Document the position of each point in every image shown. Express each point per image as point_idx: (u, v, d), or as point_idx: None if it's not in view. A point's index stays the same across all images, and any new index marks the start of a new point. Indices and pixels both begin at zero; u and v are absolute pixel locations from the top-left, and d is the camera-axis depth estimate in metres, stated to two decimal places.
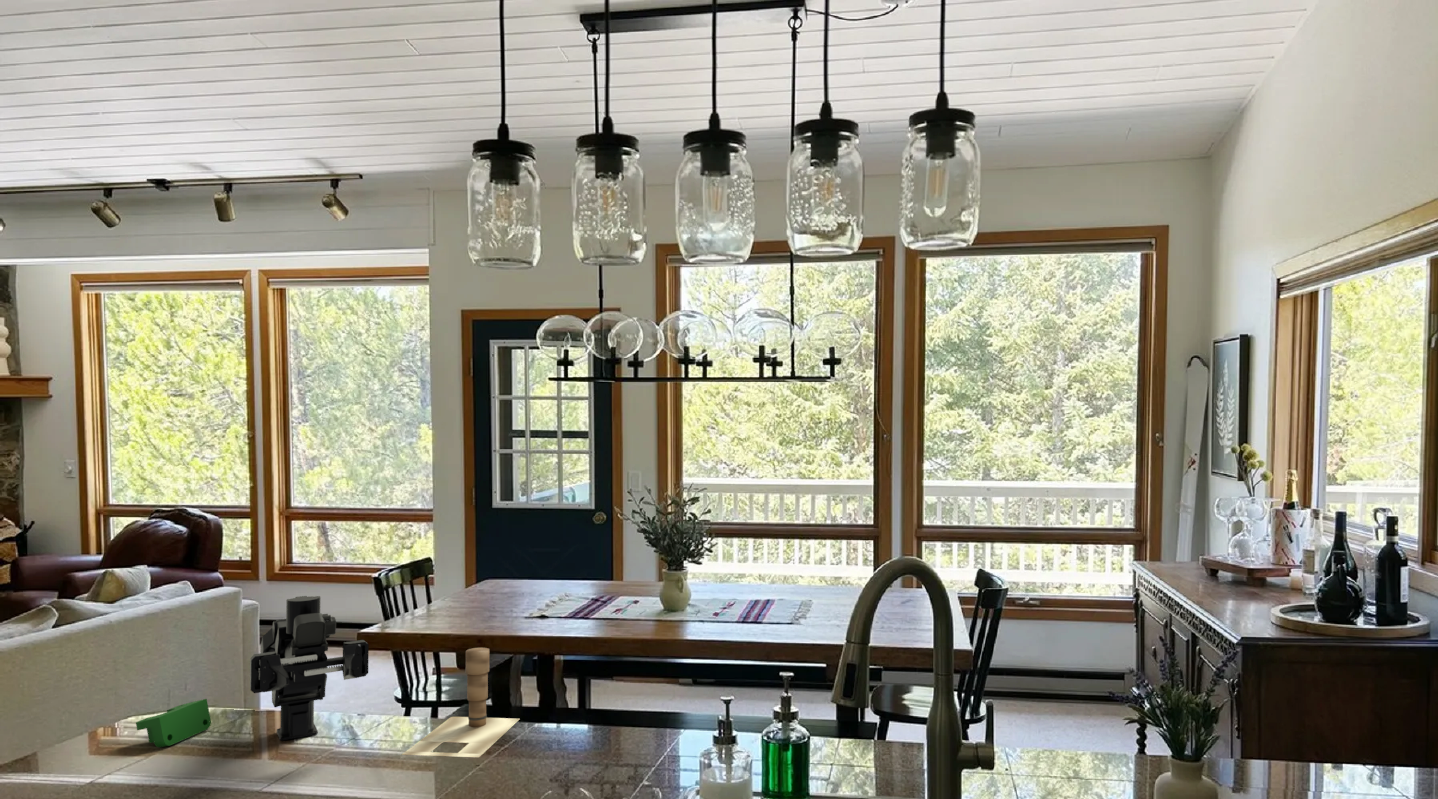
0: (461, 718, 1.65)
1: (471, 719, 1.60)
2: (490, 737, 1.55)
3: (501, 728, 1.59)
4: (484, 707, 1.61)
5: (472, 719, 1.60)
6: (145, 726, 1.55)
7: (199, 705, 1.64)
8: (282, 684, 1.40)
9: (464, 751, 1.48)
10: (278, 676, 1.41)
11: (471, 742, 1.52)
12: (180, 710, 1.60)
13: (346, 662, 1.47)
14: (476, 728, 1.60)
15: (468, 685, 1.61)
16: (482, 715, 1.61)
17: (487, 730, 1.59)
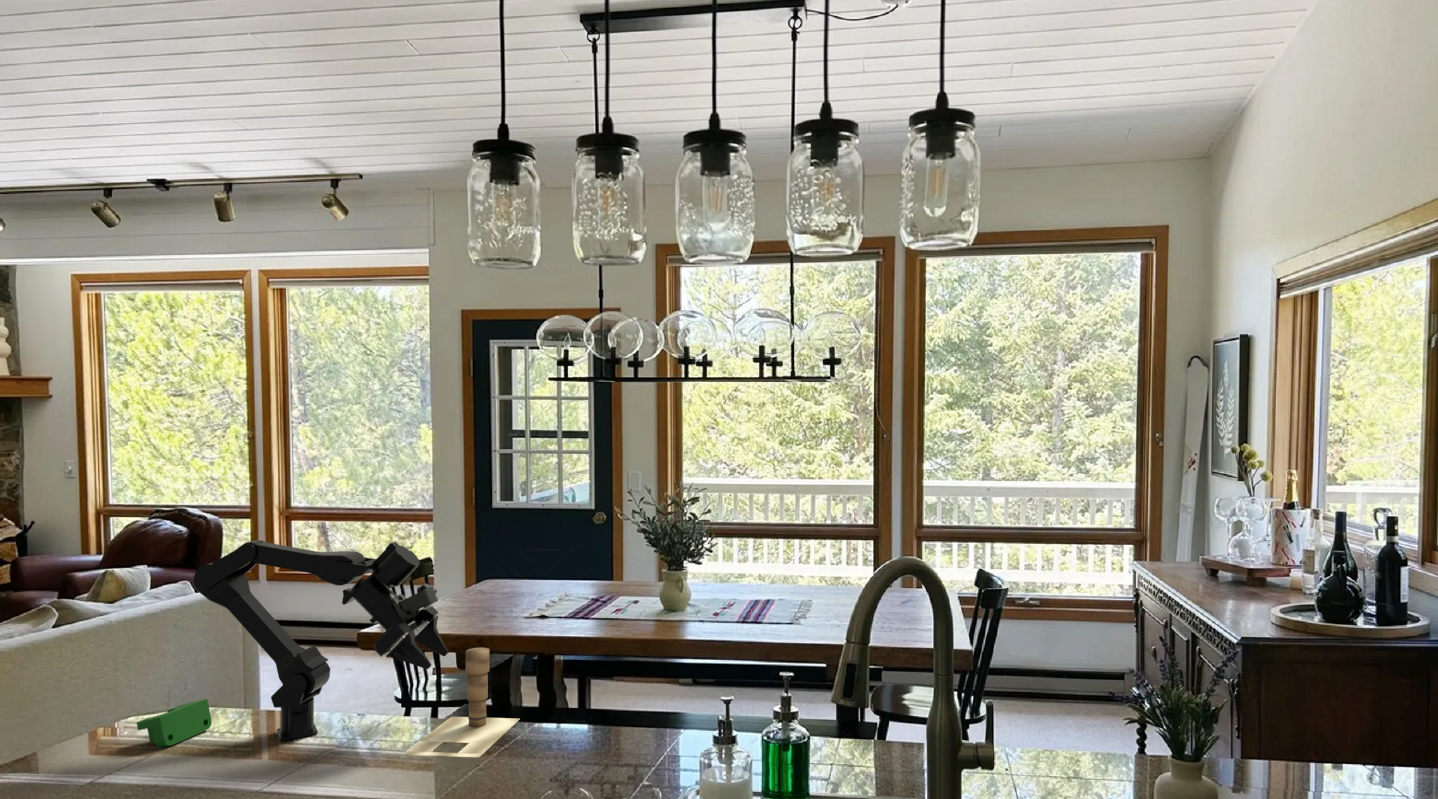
0: (461, 718, 1.65)
1: (471, 719, 1.60)
2: (490, 737, 1.55)
3: (501, 728, 1.59)
4: (484, 707, 1.61)
5: (472, 719, 1.60)
6: (146, 726, 1.55)
7: (199, 705, 1.64)
8: (420, 665, 1.57)
9: (464, 751, 1.48)
10: (417, 656, 1.57)
11: (471, 742, 1.52)
12: (181, 710, 1.60)
13: (441, 641, 1.67)
14: (476, 728, 1.60)
15: (468, 685, 1.61)
16: (482, 715, 1.61)
17: (487, 730, 1.59)
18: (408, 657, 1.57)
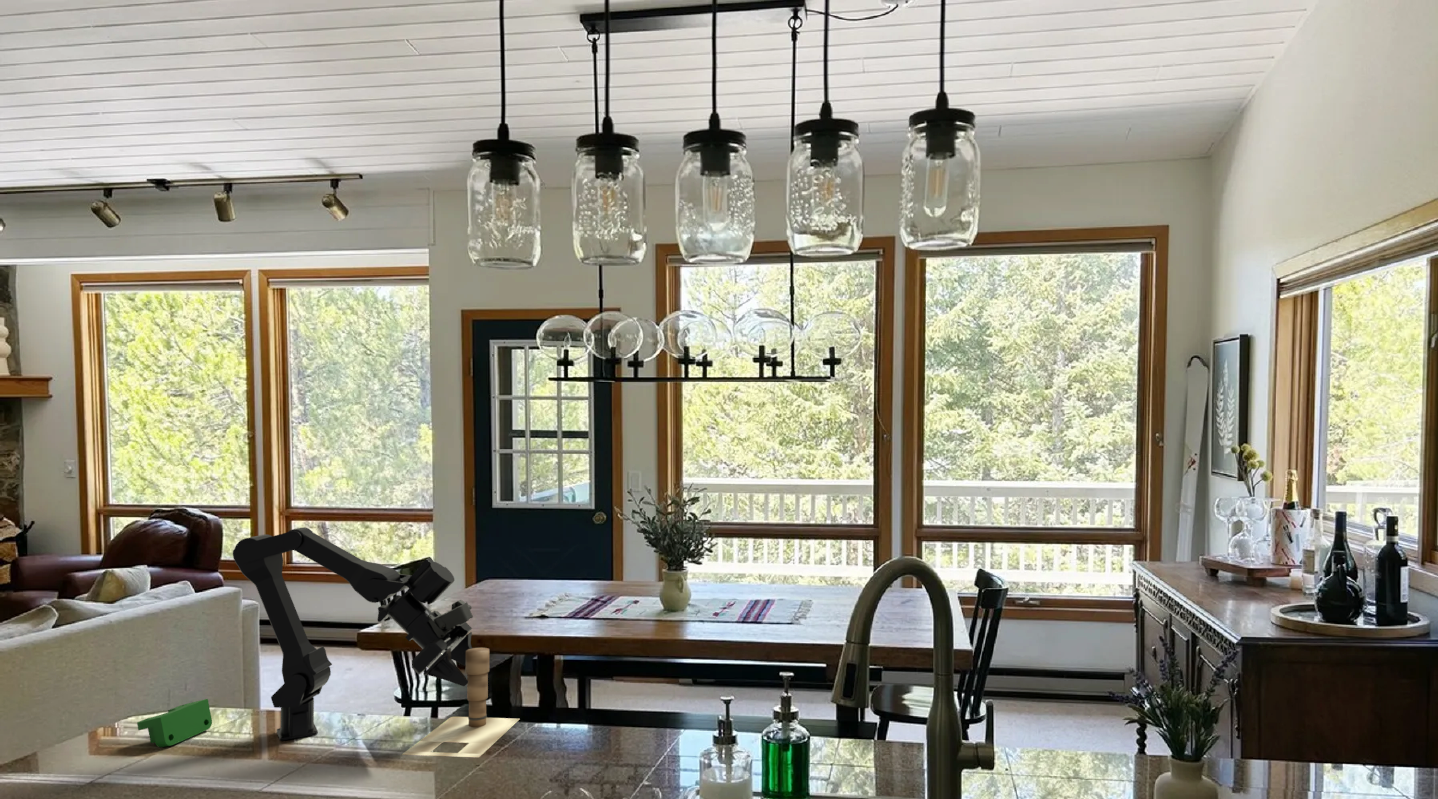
0: (461, 718, 1.65)
1: (471, 719, 1.60)
2: (490, 737, 1.55)
3: (501, 728, 1.59)
4: (484, 707, 1.61)
5: (472, 719, 1.60)
6: (146, 726, 1.55)
7: (200, 705, 1.64)
8: (457, 683, 1.57)
9: (464, 751, 1.48)
10: (454, 673, 1.57)
11: (471, 742, 1.52)
12: (181, 710, 1.60)
13: None
14: (476, 728, 1.60)
15: (468, 685, 1.61)
16: (482, 715, 1.61)
17: (487, 730, 1.59)
18: (445, 674, 1.56)
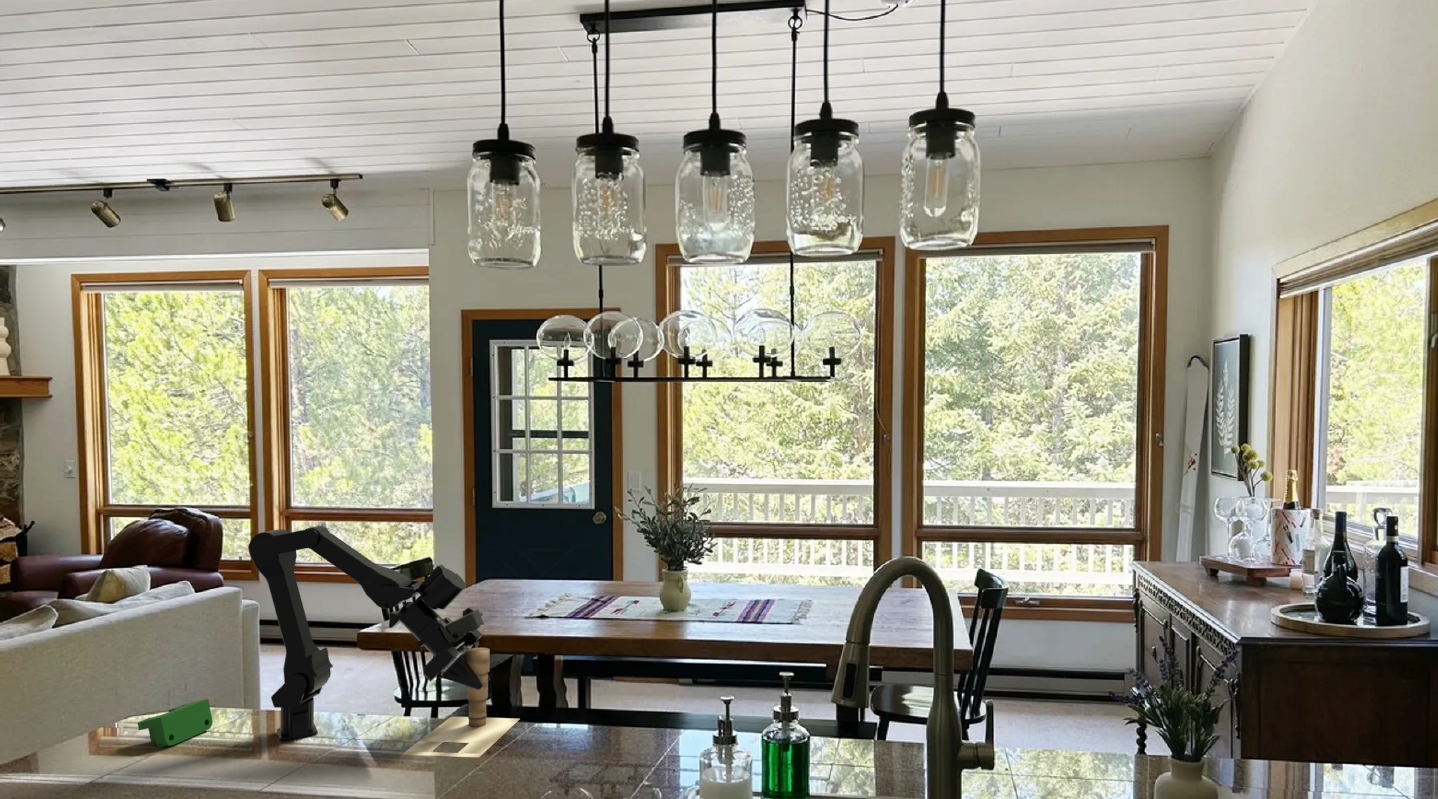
0: (461, 718, 1.65)
1: (471, 719, 1.60)
2: (490, 737, 1.55)
3: (501, 728, 1.59)
4: (484, 707, 1.61)
5: (472, 719, 1.60)
6: (147, 726, 1.55)
7: (200, 705, 1.64)
8: (472, 686, 1.59)
9: (464, 751, 1.48)
10: (469, 677, 1.59)
11: (471, 742, 1.52)
12: (182, 710, 1.59)
13: None
14: (476, 728, 1.60)
15: None
16: (482, 715, 1.61)
17: (487, 730, 1.59)
18: (460, 678, 1.59)
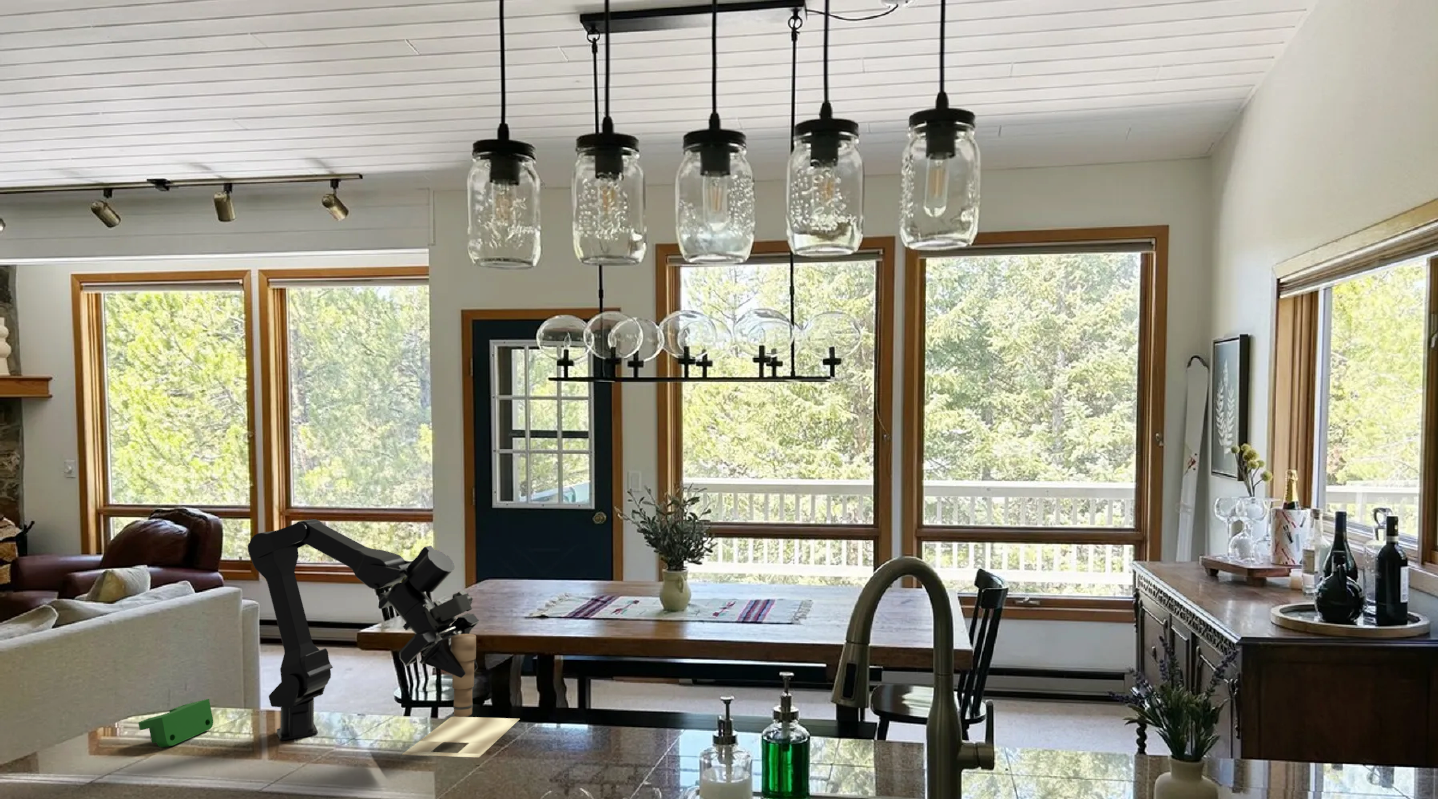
0: (461, 718, 1.65)
1: (455, 708, 1.53)
2: (490, 737, 1.55)
3: (501, 728, 1.59)
4: (468, 697, 1.54)
5: (456, 708, 1.53)
6: (148, 726, 1.55)
7: (201, 705, 1.64)
8: (454, 673, 1.52)
9: (464, 751, 1.48)
10: (451, 664, 1.52)
11: (471, 742, 1.52)
12: (182, 710, 1.59)
13: None
14: (476, 728, 1.60)
15: None
16: (466, 705, 1.53)
17: (487, 730, 1.59)
18: (442, 664, 1.52)
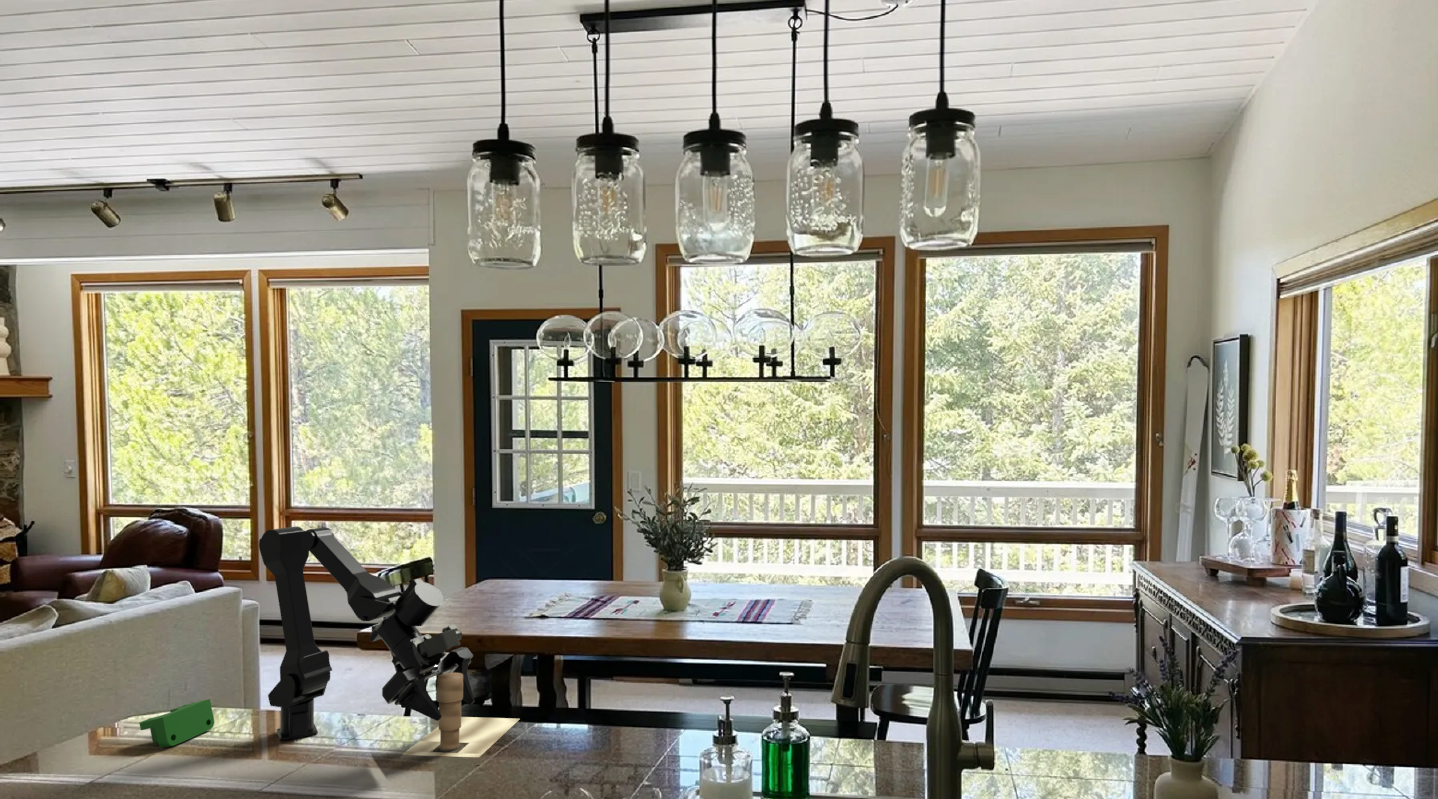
0: (461, 718, 1.65)
1: (441, 750, 1.49)
2: (490, 737, 1.55)
3: (501, 728, 1.59)
4: (454, 739, 1.49)
5: (442, 750, 1.49)
6: (149, 726, 1.55)
7: (202, 705, 1.64)
8: (430, 716, 1.45)
9: (464, 751, 1.48)
10: (426, 706, 1.45)
11: (471, 742, 1.52)
12: (183, 710, 1.59)
13: (468, 687, 1.55)
14: (476, 728, 1.60)
15: None
16: (452, 747, 1.49)
17: (487, 730, 1.59)
18: (418, 706, 1.45)
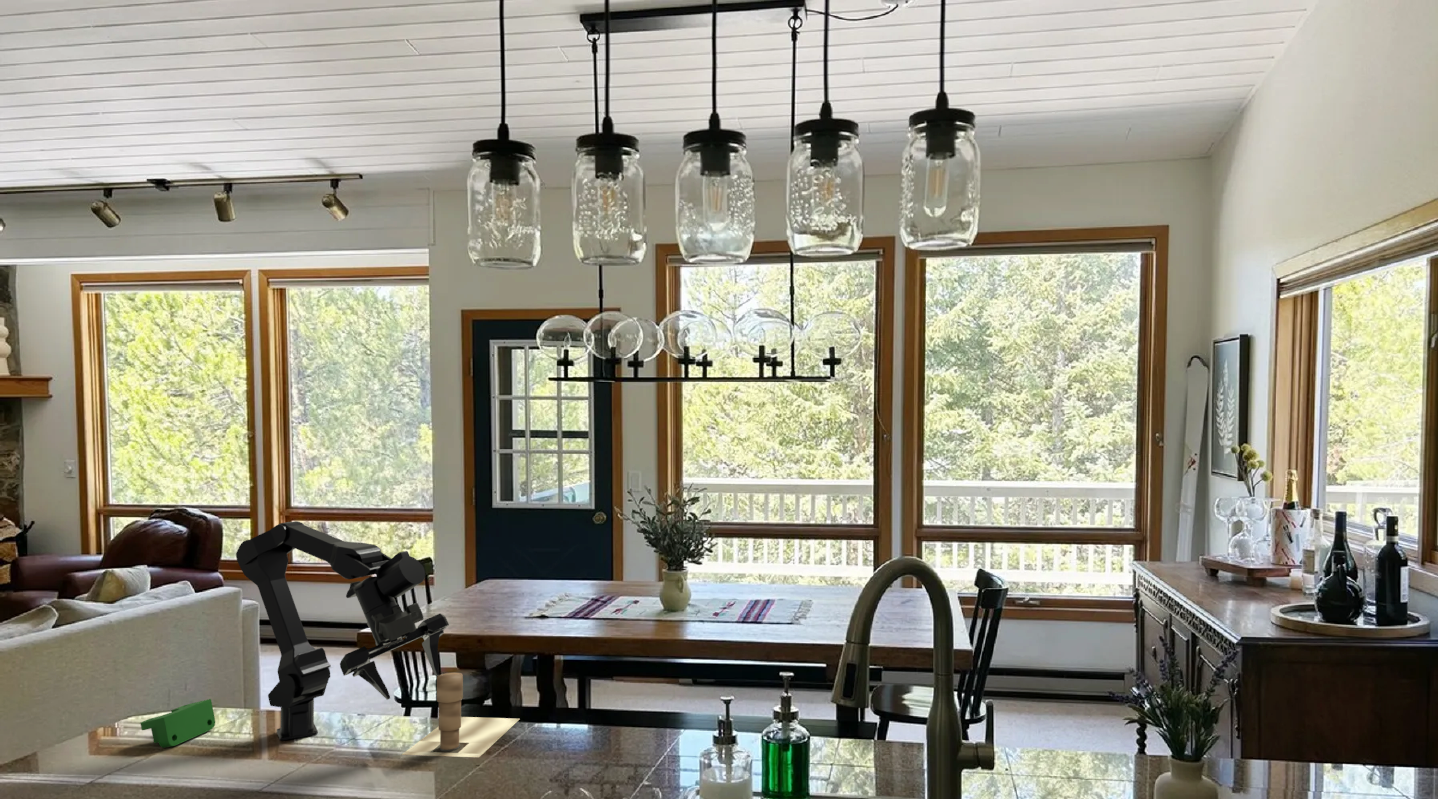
0: (461, 718, 1.65)
1: (441, 750, 1.49)
2: (490, 737, 1.55)
3: (501, 728, 1.59)
4: (454, 739, 1.49)
5: (442, 750, 1.49)
6: (150, 726, 1.55)
7: (203, 705, 1.64)
8: None
9: (464, 751, 1.48)
10: (376, 686, 1.50)
11: (471, 742, 1.52)
12: (184, 710, 1.59)
13: (434, 660, 1.56)
14: (476, 728, 1.60)
15: None
16: (452, 747, 1.49)
17: (487, 730, 1.59)
18: (372, 682, 1.51)
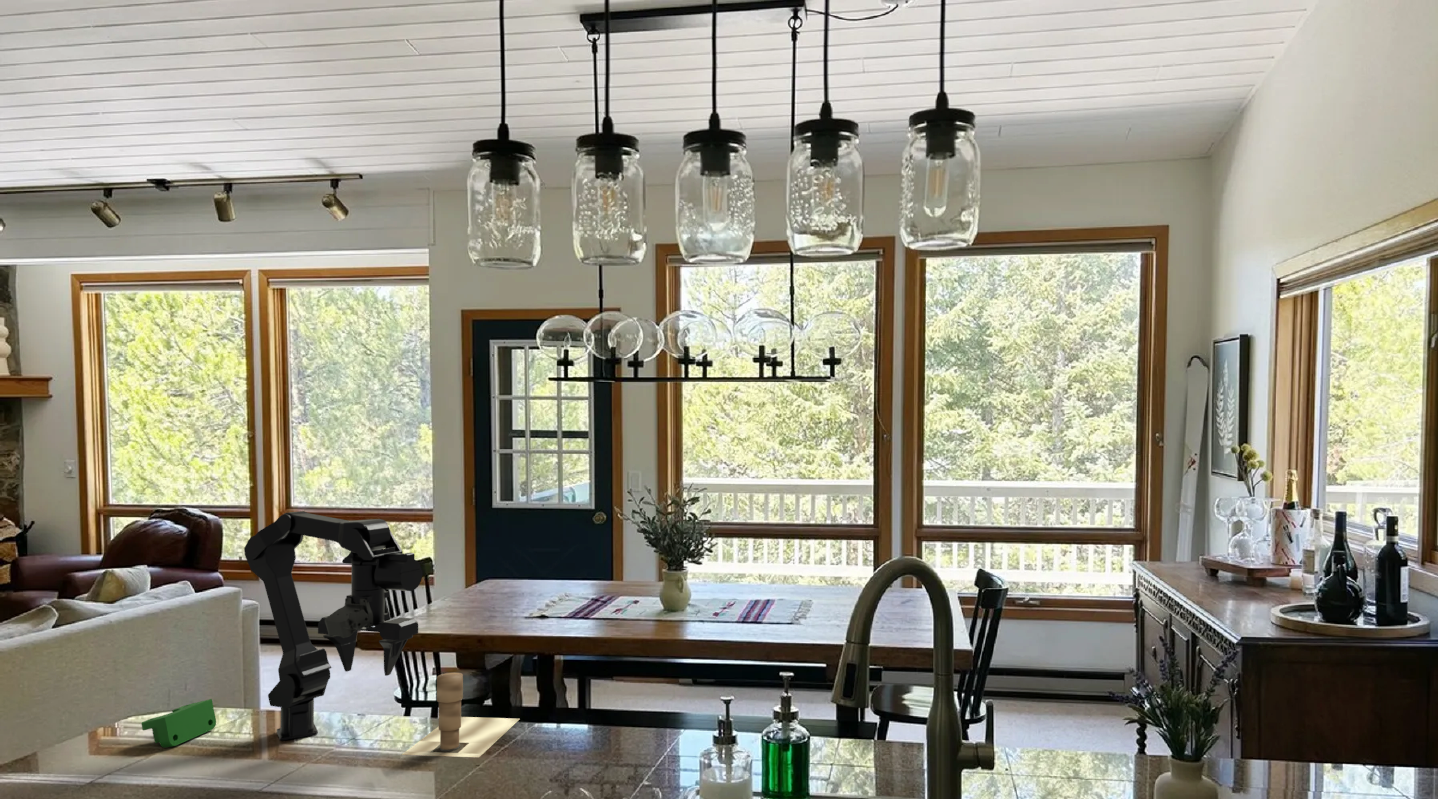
0: (461, 718, 1.65)
1: (441, 750, 1.49)
2: (490, 737, 1.55)
3: (501, 728, 1.59)
4: (454, 739, 1.49)
5: (442, 750, 1.49)
6: (151, 726, 1.55)
7: (204, 705, 1.64)
8: None
9: (464, 751, 1.48)
10: None
11: (471, 742, 1.52)
12: (185, 710, 1.59)
13: (384, 662, 1.54)
14: (476, 728, 1.60)
15: None
16: (452, 747, 1.49)
17: (487, 730, 1.59)
18: None
